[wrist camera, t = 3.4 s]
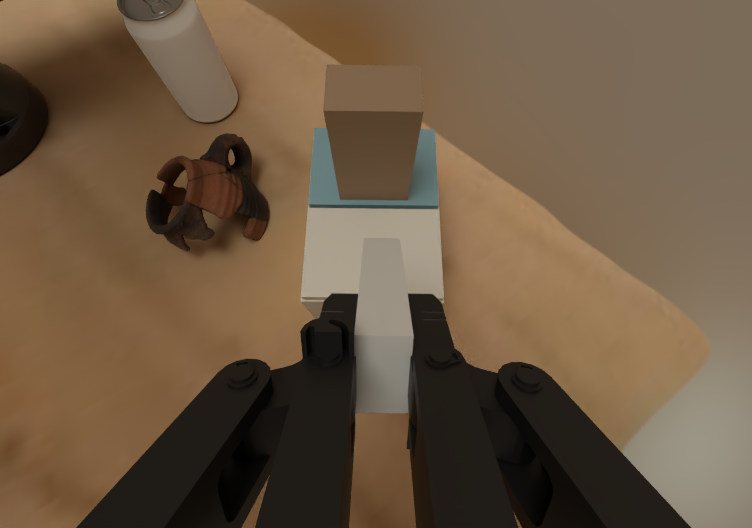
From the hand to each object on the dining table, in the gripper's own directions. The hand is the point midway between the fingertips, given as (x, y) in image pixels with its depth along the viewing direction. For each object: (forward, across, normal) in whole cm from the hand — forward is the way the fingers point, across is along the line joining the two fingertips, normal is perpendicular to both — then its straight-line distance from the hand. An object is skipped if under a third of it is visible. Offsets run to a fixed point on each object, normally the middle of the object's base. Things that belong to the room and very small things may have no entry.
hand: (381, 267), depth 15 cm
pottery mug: (+22, -16, -5) cm, 28 cm away
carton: (+19, 0, -8) cm, 20 cm away
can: (+32, -20, +5) cm, 38 cm away
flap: (+15, 0, +1) cm, 15 cm away
